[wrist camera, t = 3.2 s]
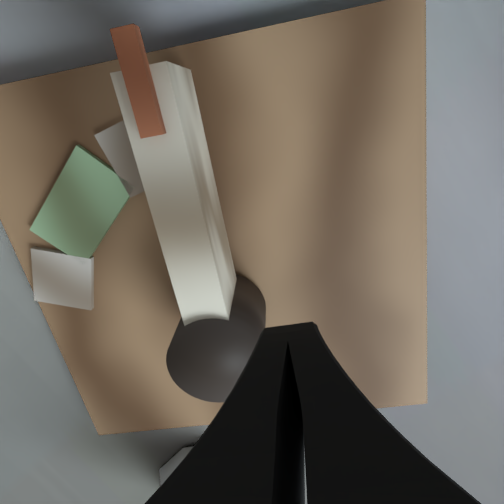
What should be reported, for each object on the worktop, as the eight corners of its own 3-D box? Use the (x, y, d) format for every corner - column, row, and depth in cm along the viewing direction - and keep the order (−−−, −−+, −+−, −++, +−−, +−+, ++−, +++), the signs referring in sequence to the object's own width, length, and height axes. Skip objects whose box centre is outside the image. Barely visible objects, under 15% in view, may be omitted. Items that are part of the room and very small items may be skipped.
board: (415, -2, 14) (428, -11, 13) (420, 390, 22) (429, 407, 21) (-38, 97, 17) (-62, 96, 16) (105, 422, 24) (96, 439, 23)
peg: (271, 335, 19) (271, 401, 15) (198, 344, 20) (179, 410, 16) (214, 36, 14) (190, 10, 10) (117, 58, 15) (55, 41, 11)
